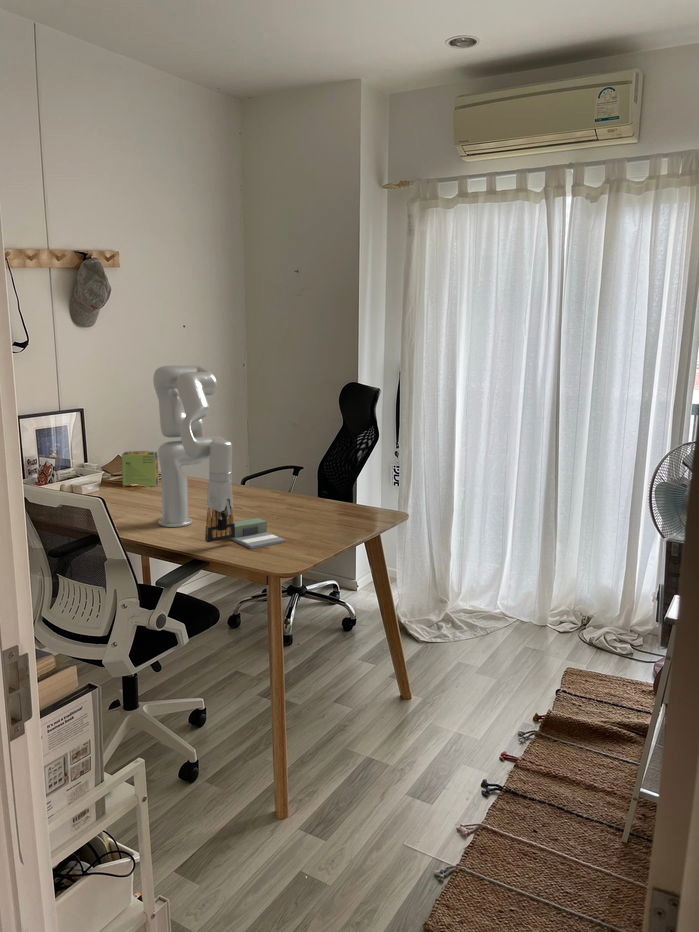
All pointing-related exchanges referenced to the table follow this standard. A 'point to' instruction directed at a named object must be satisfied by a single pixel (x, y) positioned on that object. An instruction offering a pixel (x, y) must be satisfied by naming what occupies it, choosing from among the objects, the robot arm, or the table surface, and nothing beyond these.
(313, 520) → the table surface
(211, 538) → the ammunition clip
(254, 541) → the plate with green block
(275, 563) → the table surface
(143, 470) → the protein box
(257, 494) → the table surface
